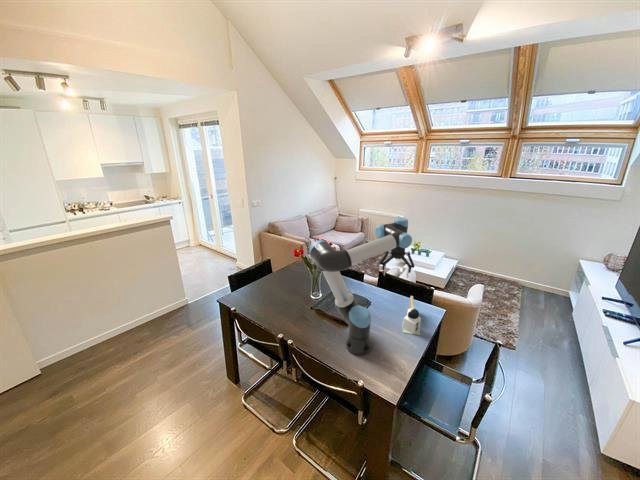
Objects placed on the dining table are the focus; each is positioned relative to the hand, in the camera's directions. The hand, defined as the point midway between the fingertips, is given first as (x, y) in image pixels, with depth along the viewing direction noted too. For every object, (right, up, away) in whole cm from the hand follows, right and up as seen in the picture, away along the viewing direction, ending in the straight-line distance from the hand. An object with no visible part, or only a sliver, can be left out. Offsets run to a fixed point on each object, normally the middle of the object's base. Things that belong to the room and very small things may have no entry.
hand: (395, 275), depth 164 cm
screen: (+14, -29, +13) cm, 34 cm away
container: (+10, -33, +2) cm, 35 cm away
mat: (+10, -33, +2) cm, 35 cm away
